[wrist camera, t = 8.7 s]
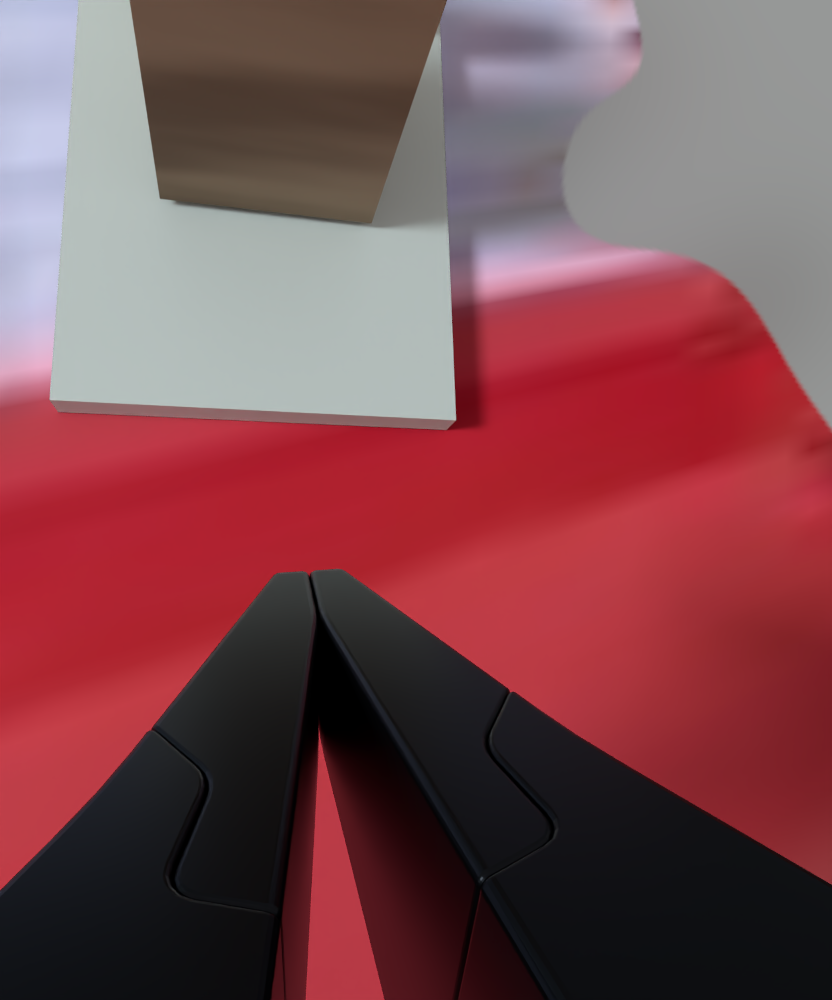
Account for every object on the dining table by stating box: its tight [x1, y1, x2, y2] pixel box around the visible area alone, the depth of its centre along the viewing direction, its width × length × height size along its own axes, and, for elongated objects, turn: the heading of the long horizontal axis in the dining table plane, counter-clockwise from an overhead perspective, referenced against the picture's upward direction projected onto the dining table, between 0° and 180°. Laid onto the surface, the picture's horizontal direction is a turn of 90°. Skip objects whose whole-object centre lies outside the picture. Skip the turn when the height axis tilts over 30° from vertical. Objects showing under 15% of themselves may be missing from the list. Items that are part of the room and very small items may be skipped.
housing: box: [50, 0, 456, 430], centre depth 20 cm, size 14×11×6 cm
